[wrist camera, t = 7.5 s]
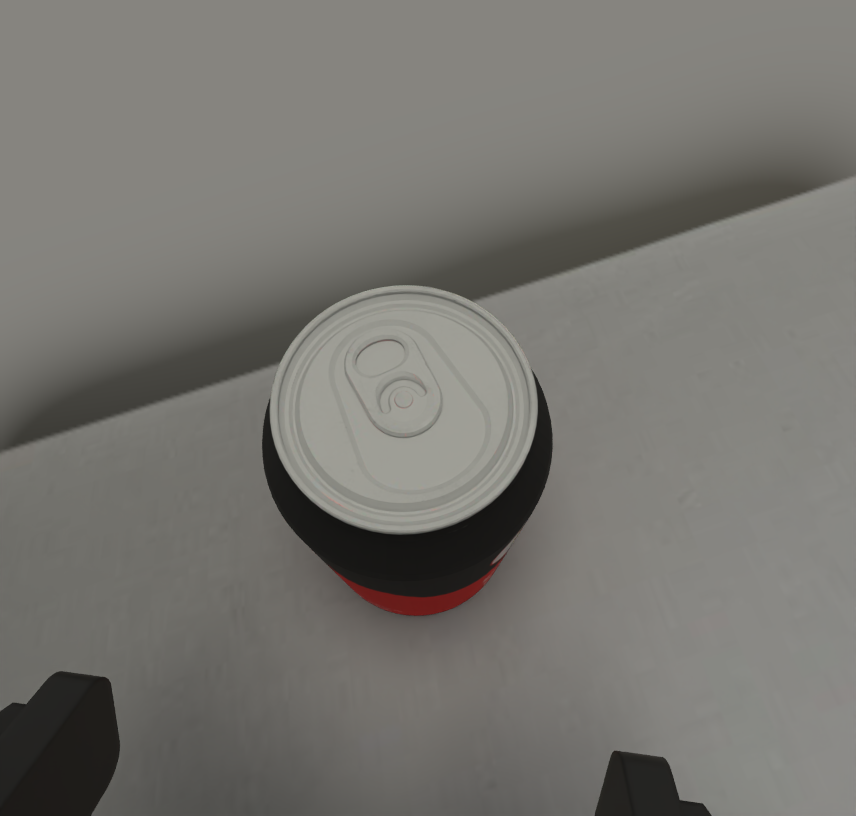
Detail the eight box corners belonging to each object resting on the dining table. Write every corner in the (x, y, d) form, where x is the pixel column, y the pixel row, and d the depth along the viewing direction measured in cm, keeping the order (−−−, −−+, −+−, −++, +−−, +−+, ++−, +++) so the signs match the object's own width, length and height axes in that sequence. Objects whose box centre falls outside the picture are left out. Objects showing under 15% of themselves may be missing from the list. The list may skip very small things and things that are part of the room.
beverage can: (376, 651, 22) (317, 635, 10) (304, 491, 24) (191, 335, 13) (536, 565, 23) (635, 466, 12) (453, 419, 25) (469, 216, 14)
